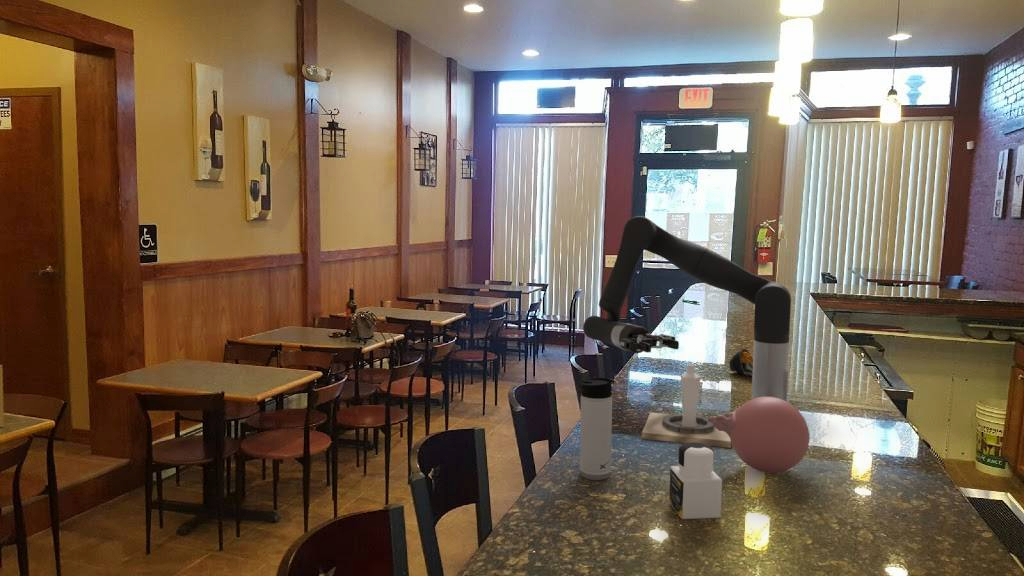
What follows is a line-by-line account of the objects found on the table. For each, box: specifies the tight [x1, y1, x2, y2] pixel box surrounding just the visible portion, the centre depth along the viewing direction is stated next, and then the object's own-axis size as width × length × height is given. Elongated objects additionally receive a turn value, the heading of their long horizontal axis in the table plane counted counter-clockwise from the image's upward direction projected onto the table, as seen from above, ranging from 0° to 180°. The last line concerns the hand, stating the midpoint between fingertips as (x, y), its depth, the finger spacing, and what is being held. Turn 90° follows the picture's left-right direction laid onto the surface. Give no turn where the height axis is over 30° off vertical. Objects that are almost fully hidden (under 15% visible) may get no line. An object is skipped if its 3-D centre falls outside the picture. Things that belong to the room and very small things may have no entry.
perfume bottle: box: [680, 363, 701, 427], centre depth 166 cm, size 5×4×15 cm
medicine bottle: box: [668, 442, 723, 520], centre depth 123 cm, size 7×7×12 cm
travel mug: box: [579, 377, 615, 481], centre depth 139 cm, size 6×7×20 cm
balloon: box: [707, 397, 810, 474], centre depth 143 cm, size 15×20×15 cm
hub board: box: [641, 412, 732, 449], centre depth 167 cm, size 20×17×3 cm
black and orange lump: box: [729, 348, 753, 378], centre depth 223 cm, size 9×11×18 cm
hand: (663, 346), depth 178 cm, fingers open, 8 cm apart
